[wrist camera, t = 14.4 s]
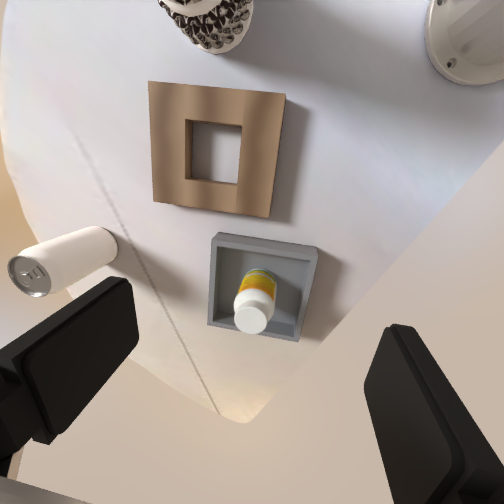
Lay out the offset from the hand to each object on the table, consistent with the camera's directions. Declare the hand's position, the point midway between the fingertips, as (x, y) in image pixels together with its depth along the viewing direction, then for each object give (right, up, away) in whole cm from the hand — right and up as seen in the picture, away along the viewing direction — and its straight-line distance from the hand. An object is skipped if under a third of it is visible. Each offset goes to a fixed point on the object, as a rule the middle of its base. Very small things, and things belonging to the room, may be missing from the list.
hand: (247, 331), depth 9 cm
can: (-25, +4, +31) cm, 40 cm away
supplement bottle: (+1, -2, +29) cm, 29 cm away
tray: (+2, -2, +29) cm, 29 cm away
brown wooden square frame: (-4, +16, +23) cm, 29 cm away
